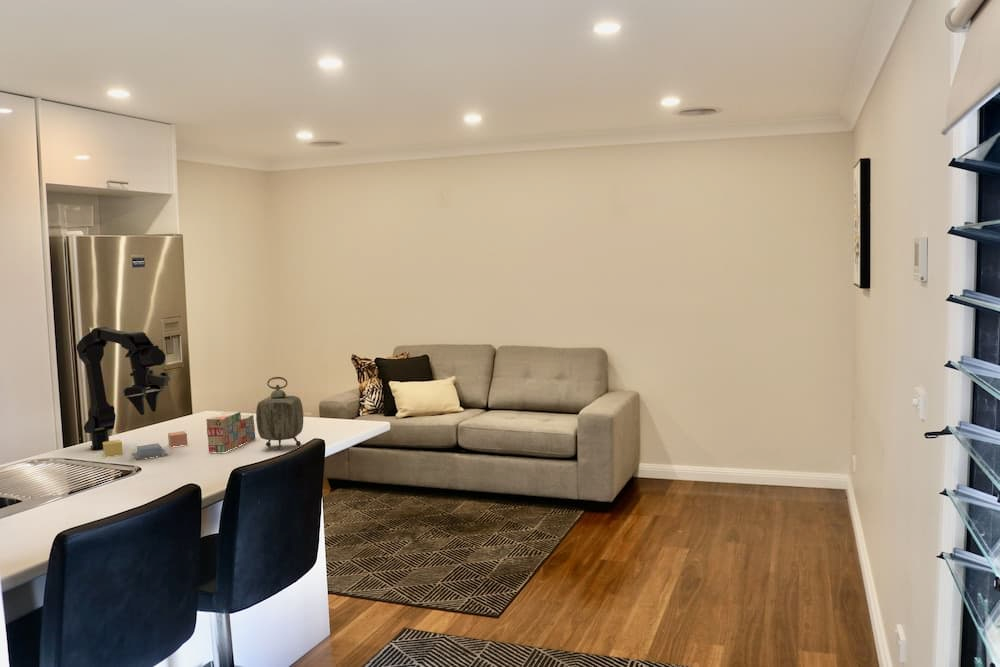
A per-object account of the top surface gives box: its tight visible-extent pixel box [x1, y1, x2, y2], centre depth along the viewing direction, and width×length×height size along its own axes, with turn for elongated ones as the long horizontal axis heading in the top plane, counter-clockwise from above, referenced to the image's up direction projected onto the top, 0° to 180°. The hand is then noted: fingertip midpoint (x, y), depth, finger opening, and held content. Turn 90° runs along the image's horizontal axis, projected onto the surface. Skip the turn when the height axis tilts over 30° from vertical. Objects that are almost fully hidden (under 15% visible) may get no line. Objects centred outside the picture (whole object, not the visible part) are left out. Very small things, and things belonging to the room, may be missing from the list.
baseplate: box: [131, 443, 168, 461], centre depth 289 cm, size 10×10×3 cm
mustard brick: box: [102, 439, 124, 458], centre depth 292 cm, size 6×6×4 cm
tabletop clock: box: [255, 376, 304, 450], centre depth 291 cm, size 14×9×25 cm, turn 89°
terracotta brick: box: [167, 430, 188, 448], centre depth 303 cm, size 6×6×4 cm
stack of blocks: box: [206, 411, 256, 453], centre depth 298 cm, size 21×6×12 cm, turn 168°
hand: (148, 413), depth 289 cm, fingers open, 9 cm apart
